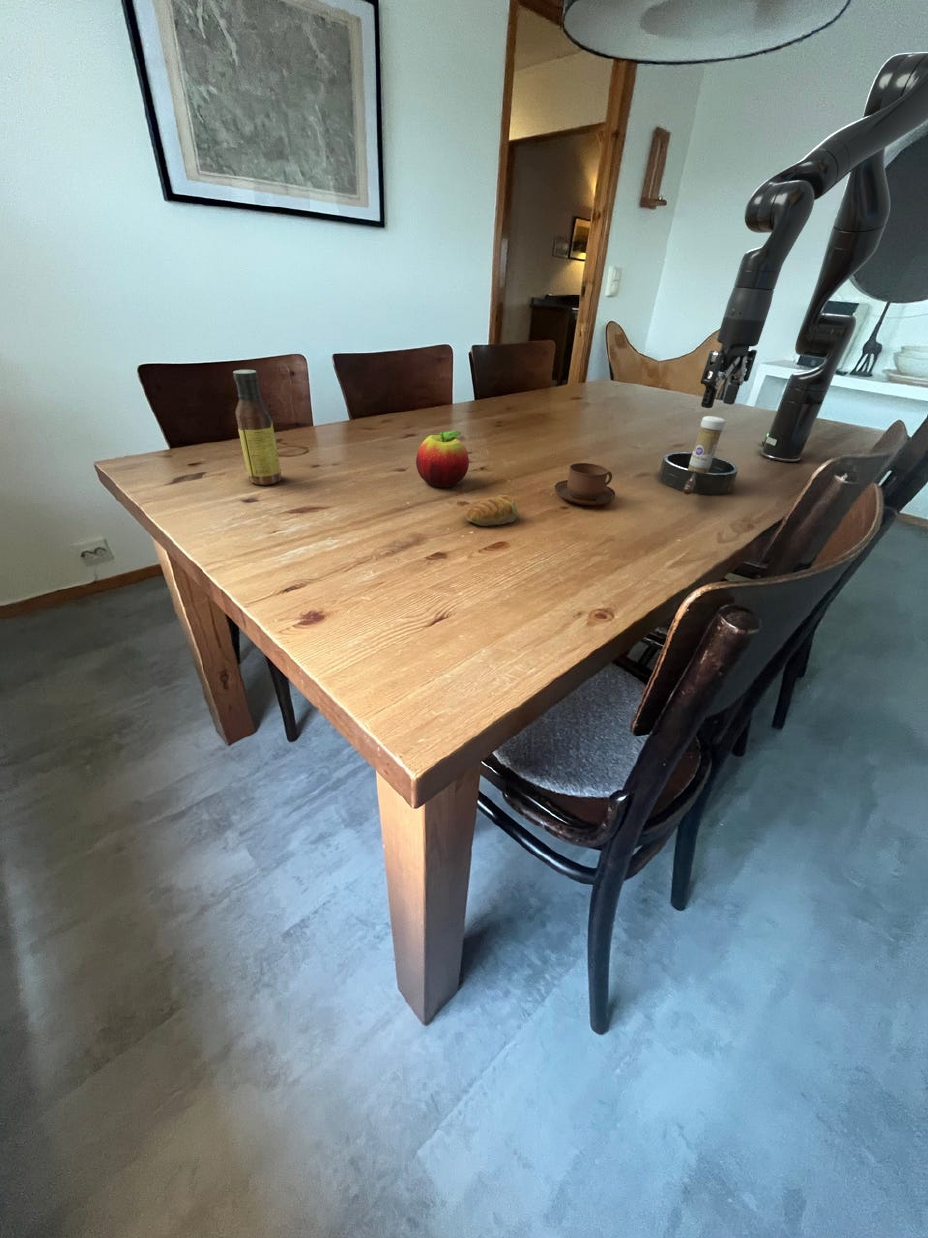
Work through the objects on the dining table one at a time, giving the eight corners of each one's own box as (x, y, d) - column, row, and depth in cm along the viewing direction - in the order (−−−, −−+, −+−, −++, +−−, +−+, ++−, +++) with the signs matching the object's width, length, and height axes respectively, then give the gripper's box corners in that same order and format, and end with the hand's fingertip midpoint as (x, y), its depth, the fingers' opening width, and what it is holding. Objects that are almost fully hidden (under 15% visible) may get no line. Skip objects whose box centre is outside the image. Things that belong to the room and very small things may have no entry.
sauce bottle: (288, 479, 105) (274, 371, 94) (266, 488, 100) (248, 375, 89) (263, 473, 107) (246, 366, 96) (240, 482, 102) (219, 370, 91)
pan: (653, 468, 125) (658, 449, 123) (720, 474, 124) (726, 455, 122) (665, 490, 112) (671, 470, 110) (740, 498, 111) (747, 477, 109)
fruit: (404, 481, 108) (404, 431, 102) (441, 470, 115) (443, 423, 109) (441, 496, 102) (443, 444, 96) (478, 484, 109) (482, 435, 103)
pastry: (481, 532, 89) (483, 510, 87) (457, 518, 94) (458, 498, 91) (521, 520, 94) (523, 500, 92) (496, 508, 99) (497, 488, 97)
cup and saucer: (575, 484, 112) (581, 455, 109) (624, 501, 106) (632, 471, 102) (541, 496, 105) (545, 466, 102) (591, 515, 98) (597, 483, 95)
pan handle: (688, 479, 111) (691, 471, 110) (697, 481, 111) (700, 473, 110) (681, 494, 103) (683, 485, 102) (690, 496, 103) (693, 487, 102)
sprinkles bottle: (681, 479, 118) (700, 417, 110) (688, 475, 121) (707, 414, 113) (701, 485, 115) (722, 421, 108) (708, 480, 118) (728, 418, 111)
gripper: (744, 318, 94) (715, 413, 103) (782, 318, 101) (751, 406, 111) (706, 314, 99) (682, 405, 108) (745, 314, 106) (719, 398, 115)
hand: (717, 405), depth 109 cm, fingers open, 8 cm apart
